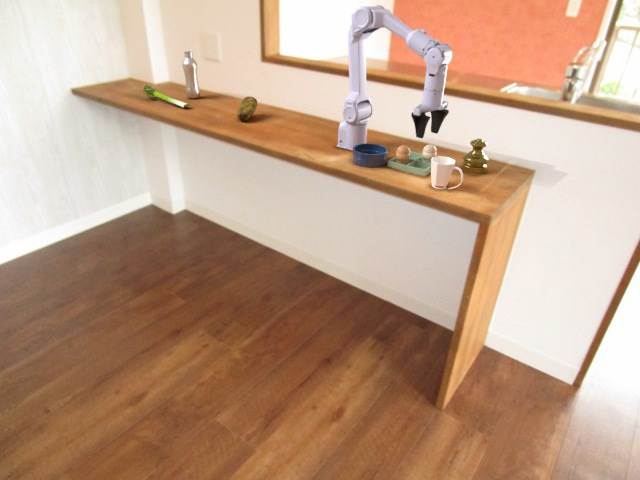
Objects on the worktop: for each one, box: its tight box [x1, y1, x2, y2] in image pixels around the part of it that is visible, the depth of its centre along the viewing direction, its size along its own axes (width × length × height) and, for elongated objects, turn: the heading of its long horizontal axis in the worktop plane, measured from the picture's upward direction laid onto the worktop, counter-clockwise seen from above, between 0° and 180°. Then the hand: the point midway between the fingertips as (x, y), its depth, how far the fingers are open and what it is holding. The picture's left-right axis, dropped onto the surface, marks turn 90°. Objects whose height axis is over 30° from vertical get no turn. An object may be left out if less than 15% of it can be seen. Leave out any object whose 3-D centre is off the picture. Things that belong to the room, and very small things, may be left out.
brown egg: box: [395, 144, 411, 165], centre depth 142 cm, size 4×4×7 cm
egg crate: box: [386, 150, 431, 177], centre depth 144 cm, size 13×13×2 cm
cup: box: [430, 155, 464, 191], centre depth 129 cm, size 7×10×8 cm
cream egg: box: [421, 143, 438, 163], centre depth 144 cm, size 4×4×7 cm
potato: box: [236, 96, 258, 122], centre depth 184 cm, size 8×13×8 cm, turn 151°
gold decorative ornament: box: [460, 138, 489, 175], centre depth 141 cm, size 7×7×10 cm
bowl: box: [351, 142, 389, 168], centre depth 146 cm, size 11×11×4 cm
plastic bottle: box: [181, 51, 201, 99], centre depth 208 cm, size 6×7×20 cm
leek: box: [142, 84, 191, 109], centre depth 204 cm, size 6×7×30 cm
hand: (427, 135), depth 140 cm, fingers open, 7 cm apart
